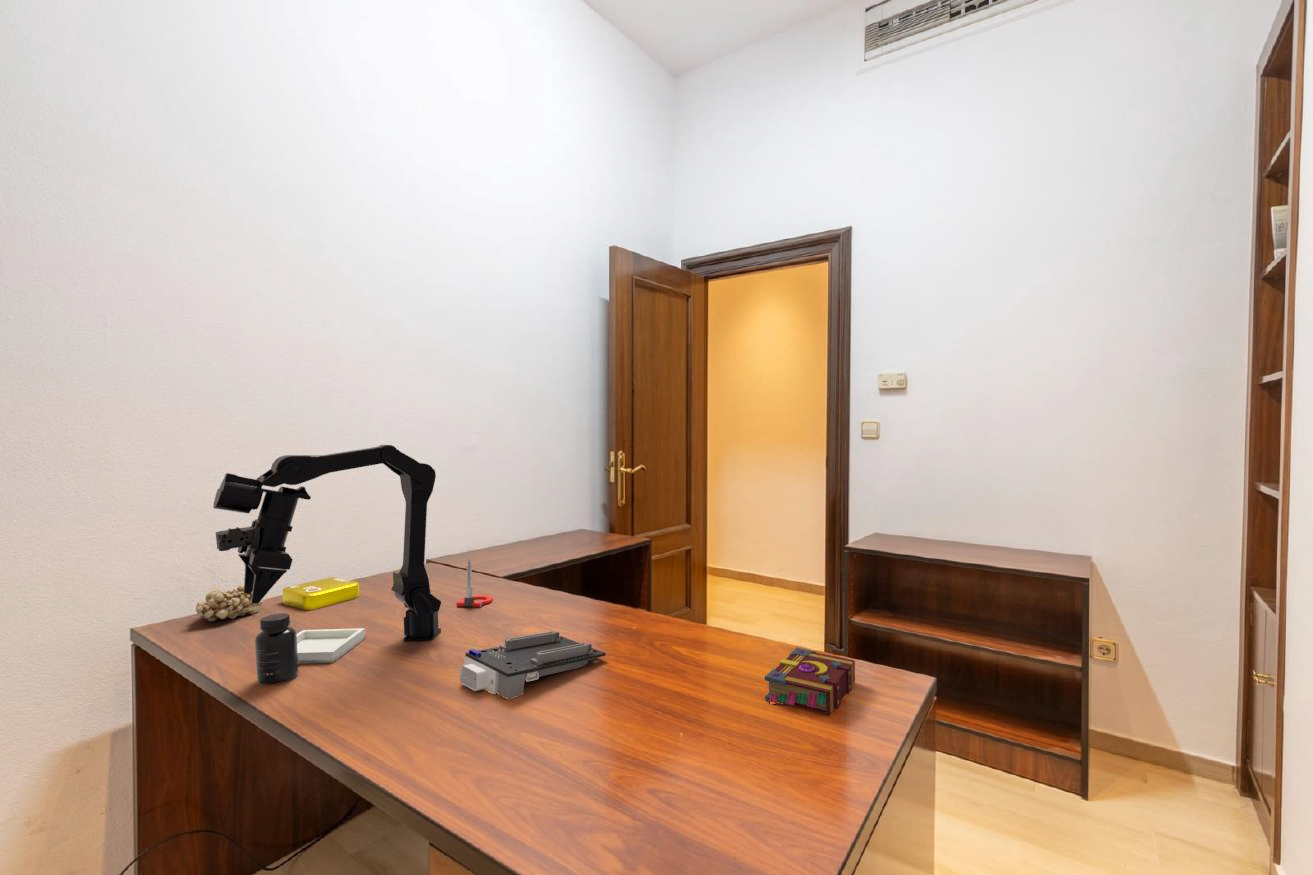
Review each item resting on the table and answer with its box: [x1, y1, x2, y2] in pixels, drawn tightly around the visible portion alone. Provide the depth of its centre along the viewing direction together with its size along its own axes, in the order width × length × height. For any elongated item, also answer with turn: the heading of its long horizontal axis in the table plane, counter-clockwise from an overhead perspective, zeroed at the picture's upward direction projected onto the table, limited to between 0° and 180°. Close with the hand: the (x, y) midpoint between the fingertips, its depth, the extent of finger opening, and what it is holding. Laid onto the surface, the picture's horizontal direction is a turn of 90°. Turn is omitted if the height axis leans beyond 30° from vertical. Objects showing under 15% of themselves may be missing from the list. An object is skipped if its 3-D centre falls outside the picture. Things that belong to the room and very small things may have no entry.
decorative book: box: [764, 647, 856, 716], centre depth 104 cm, size 11×16×5 cm
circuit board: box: [458, 630, 606, 700], centre depth 116 cm, size 25×7×15 cm
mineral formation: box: [195, 584, 264, 622], centre depth 153 cm, size 8×13×15 cm
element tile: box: [282, 576, 360, 611], centre depth 168 cm, size 15×15×5 cm
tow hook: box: [456, 557, 494, 609], centre depth 162 cm, size 8×13×9 cm
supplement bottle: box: [254, 612, 299, 686], centre depth 115 cm, size 7×7×12 cm
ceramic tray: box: [296, 627, 366, 665], centre depth 129 cm, size 14×14×2 cm
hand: (250, 598), depth 115 cm, fingers open, 9 cm apart
